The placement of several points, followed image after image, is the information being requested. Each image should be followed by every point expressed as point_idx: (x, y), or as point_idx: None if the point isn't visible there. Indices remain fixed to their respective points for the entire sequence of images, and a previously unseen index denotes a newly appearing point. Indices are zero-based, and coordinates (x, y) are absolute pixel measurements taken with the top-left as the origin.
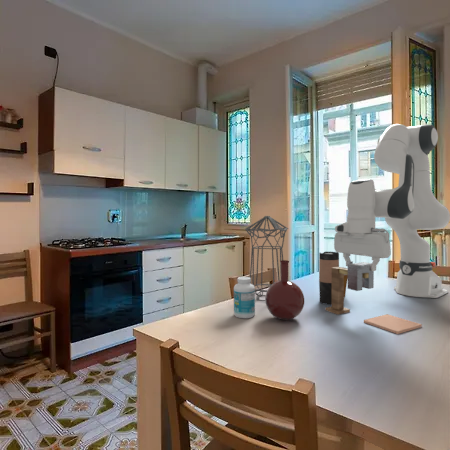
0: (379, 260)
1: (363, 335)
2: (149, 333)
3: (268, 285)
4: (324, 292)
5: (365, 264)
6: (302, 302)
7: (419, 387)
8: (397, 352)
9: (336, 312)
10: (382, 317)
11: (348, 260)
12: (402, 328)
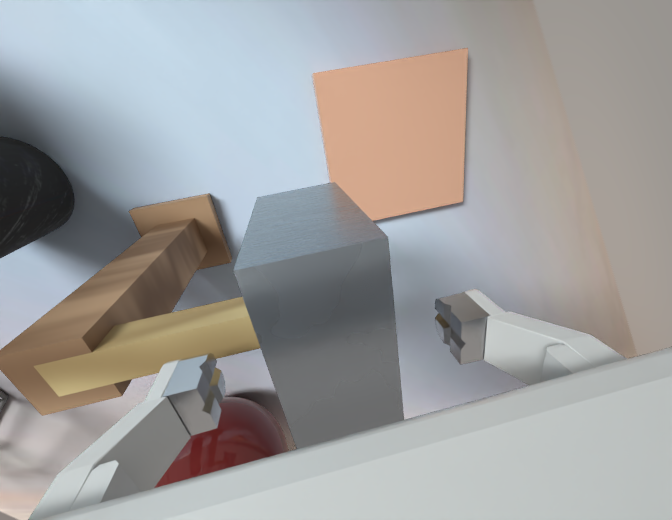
0: (587, 336)
1: (417, 292)
2: None
3: None
4: (12, 251)
5: (388, 348)
6: (276, 440)
7: (596, 336)
8: (519, 284)
9: (223, 262)
10: (341, 136)
11: (171, 429)
12: (455, 164)
